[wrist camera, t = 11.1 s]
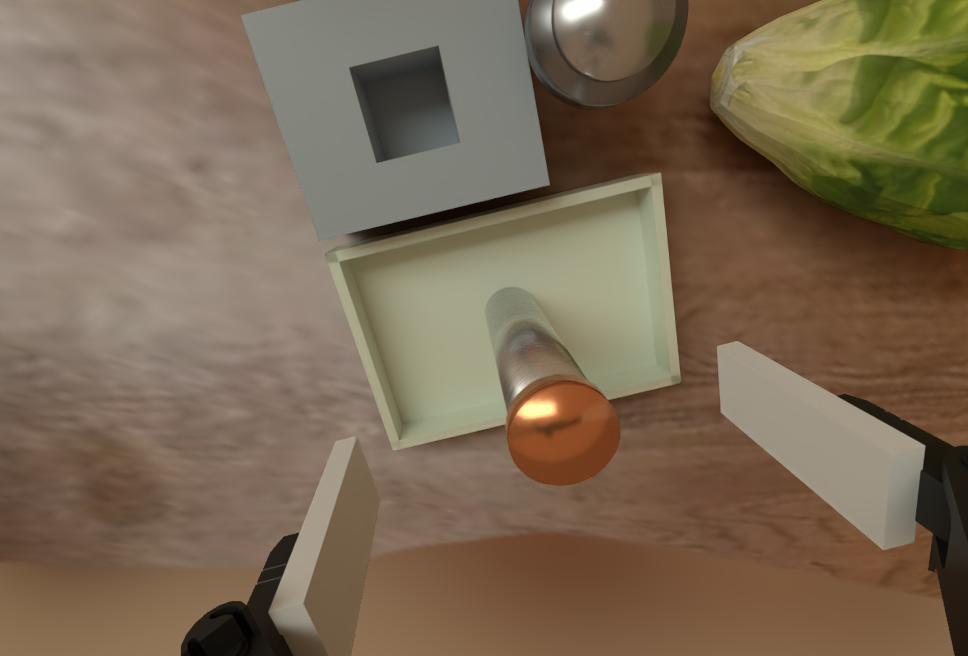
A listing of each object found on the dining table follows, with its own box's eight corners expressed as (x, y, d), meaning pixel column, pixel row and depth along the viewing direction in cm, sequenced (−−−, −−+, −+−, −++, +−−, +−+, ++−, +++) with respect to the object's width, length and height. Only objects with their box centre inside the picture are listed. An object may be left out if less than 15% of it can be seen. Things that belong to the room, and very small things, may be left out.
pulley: (520, 135, 27) (549, 118, 19) (497, 10, 25) (518, -68, 17) (627, 109, 27) (701, 81, 19) (612, -18, 25) (689, -111, 17)
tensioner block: (341, 229, 28) (318, 240, 23) (281, 46, 25) (240, 15, 20) (533, 183, 28) (549, 184, 23) (498, -8, 24) (508, -52, 20)
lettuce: (699, -3, 29) (829, -215, 16) (1110, 33, 27) (1651, -180, 14) (654, 222, 31) (734, 198, 18) (1027, 273, 29) (1421, 286, 16)
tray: (397, 428, 32) (392, 450, 30) (336, 246, 28) (324, 253, 25) (662, 365, 32) (681, 382, 29) (641, 172, 28) (661, 172, 25)
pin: (488, 345, 30) (520, 495, 16) (475, 291, 29) (497, 401, 15) (544, 332, 30) (626, 471, 16) (534, 277, 29) (612, 374, 15)
